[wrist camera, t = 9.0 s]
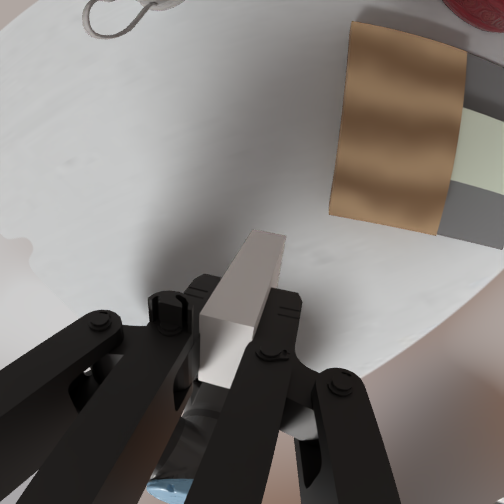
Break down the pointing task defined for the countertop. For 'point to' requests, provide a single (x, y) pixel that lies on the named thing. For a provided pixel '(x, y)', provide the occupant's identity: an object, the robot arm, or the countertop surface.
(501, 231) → the mat
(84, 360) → the robot arm
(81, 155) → the countertop surface
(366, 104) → the plate
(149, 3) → the glass holder
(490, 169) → the coaster
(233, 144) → the countertop surface
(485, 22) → the canister
